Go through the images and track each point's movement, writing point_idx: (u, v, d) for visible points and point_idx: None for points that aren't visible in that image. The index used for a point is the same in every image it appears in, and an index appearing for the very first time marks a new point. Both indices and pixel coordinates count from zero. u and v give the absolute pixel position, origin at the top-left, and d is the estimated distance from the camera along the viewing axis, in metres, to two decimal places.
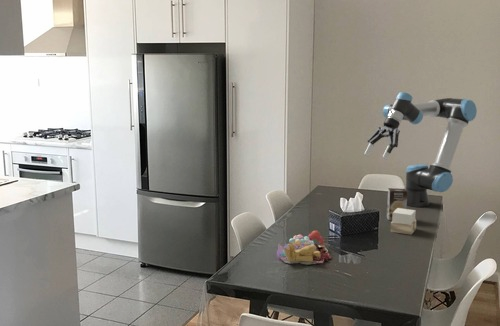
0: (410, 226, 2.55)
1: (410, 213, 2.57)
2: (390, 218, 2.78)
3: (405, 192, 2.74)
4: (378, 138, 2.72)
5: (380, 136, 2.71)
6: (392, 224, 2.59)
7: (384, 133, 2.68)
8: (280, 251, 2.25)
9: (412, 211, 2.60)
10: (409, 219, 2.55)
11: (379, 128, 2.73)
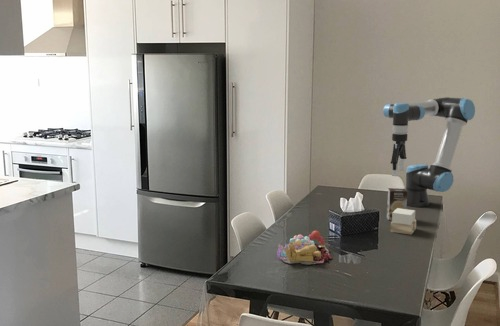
0: (410, 226, 2.55)
1: (410, 213, 2.57)
2: (390, 218, 2.78)
3: (405, 192, 2.74)
4: (401, 152, 2.77)
5: (400, 150, 2.76)
6: (392, 224, 2.59)
7: None
8: (280, 251, 2.25)
9: (412, 211, 2.60)
10: (409, 219, 2.55)
11: None
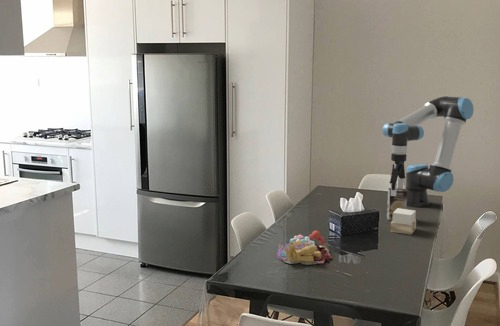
0: (410, 226, 2.55)
1: (410, 213, 2.57)
2: (390, 218, 2.78)
3: (405, 192, 2.74)
4: (400, 172, 2.79)
5: (399, 170, 2.78)
6: (392, 224, 2.59)
7: None
8: (281, 251, 2.25)
9: (412, 211, 2.60)
10: (409, 219, 2.55)
11: None
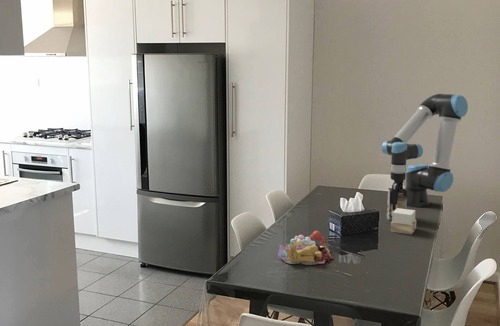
0: (410, 226, 2.55)
1: (410, 213, 2.57)
2: (390, 218, 2.78)
3: (405, 192, 2.74)
4: None
5: None
6: (392, 224, 2.59)
7: None
8: (281, 251, 2.25)
9: (412, 211, 2.60)
10: (409, 219, 2.55)
11: None
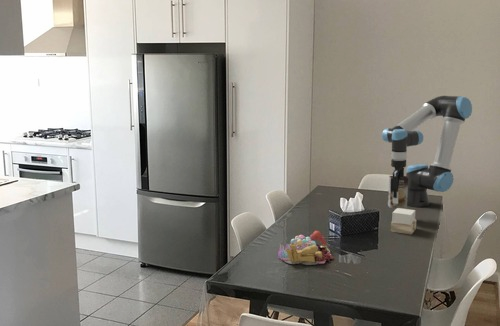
0: (410, 226, 2.55)
1: (410, 213, 2.57)
2: (391, 206, 2.77)
3: (406, 179, 2.73)
4: None
5: None
6: (392, 224, 2.59)
7: None
8: (282, 251, 2.25)
9: (412, 211, 2.60)
10: (409, 219, 2.55)
11: None
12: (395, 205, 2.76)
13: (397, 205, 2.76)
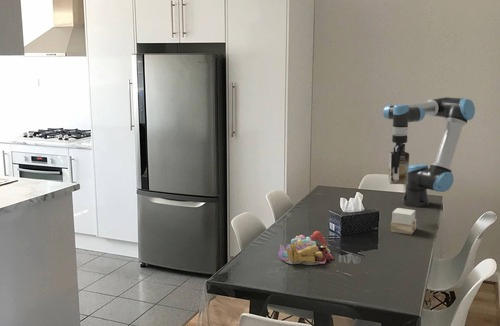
0: (410, 226, 2.55)
1: (410, 213, 2.57)
2: (392, 182, 2.74)
3: (407, 155, 2.70)
4: None
5: None
6: (392, 224, 2.59)
7: None
8: (282, 252, 2.24)
9: (412, 211, 2.60)
10: (409, 219, 2.55)
11: None
12: (396, 181, 2.74)
13: (398, 181, 2.73)
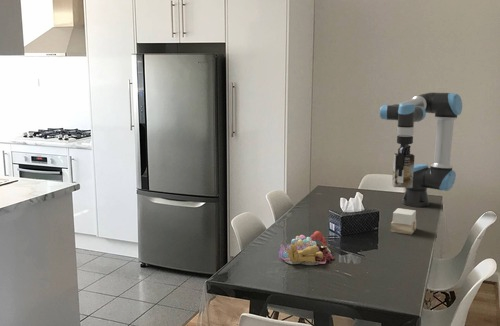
0: (410, 226, 2.55)
1: (410, 213, 2.57)
2: (396, 185, 2.60)
3: (412, 157, 2.56)
4: None
5: None
6: (392, 224, 2.59)
7: None
8: (282, 252, 2.24)
9: (412, 211, 2.60)
10: (409, 219, 2.55)
11: None
12: (400, 184, 2.59)
13: (402, 184, 2.59)
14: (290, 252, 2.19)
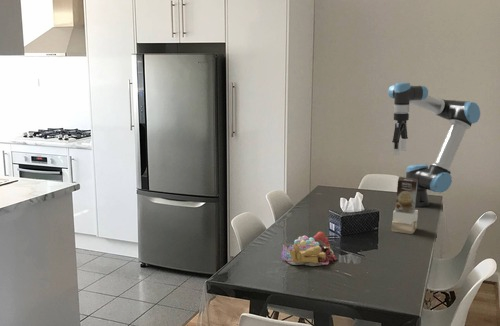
0: (411, 225, 2.56)
1: (410, 213, 2.57)
2: (397, 209, 2.59)
3: (414, 183, 2.53)
4: (403, 132, 2.80)
5: (402, 130, 2.79)
6: (393, 223, 2.60)
7: None
8: (285, 252, 2.24)
9: (414, 211, 2.60)
10: (409, 219, 2.56)
11: None
12: (401, 209, 2.58)
13: (403, 209, 2.58)
14: (293, 253, 2.18)
